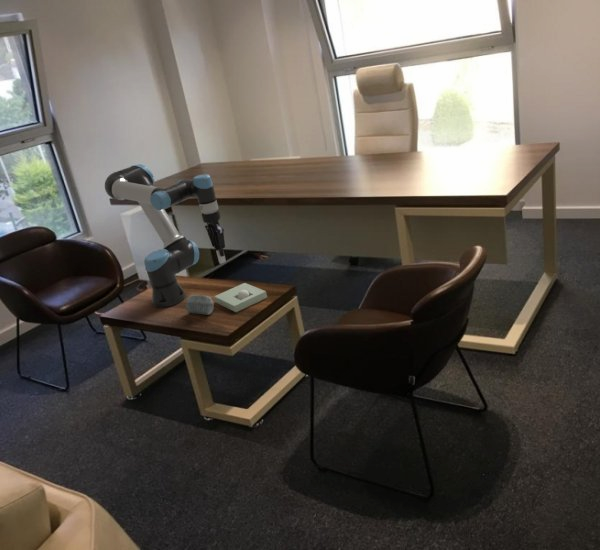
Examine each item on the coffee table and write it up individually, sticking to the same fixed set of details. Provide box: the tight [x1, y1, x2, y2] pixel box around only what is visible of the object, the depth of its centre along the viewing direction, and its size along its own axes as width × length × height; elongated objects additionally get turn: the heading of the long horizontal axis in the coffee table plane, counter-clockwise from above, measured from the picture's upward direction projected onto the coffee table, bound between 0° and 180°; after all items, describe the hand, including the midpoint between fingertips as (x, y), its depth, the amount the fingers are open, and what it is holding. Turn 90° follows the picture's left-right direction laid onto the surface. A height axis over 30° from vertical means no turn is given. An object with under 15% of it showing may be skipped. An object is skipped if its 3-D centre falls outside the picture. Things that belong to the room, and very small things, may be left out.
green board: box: [214, 282, 268, 313], centre depth 258 cm, size 18×16×3 cm
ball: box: [238, 290, 249, 300], centre depth 255 cm, size 5×5×5 cm
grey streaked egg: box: [185, 294, 215, 316], centre depth 253 cm, size 14×10×10 cm
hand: (222, 262), depth 260 cm, fingers closed
